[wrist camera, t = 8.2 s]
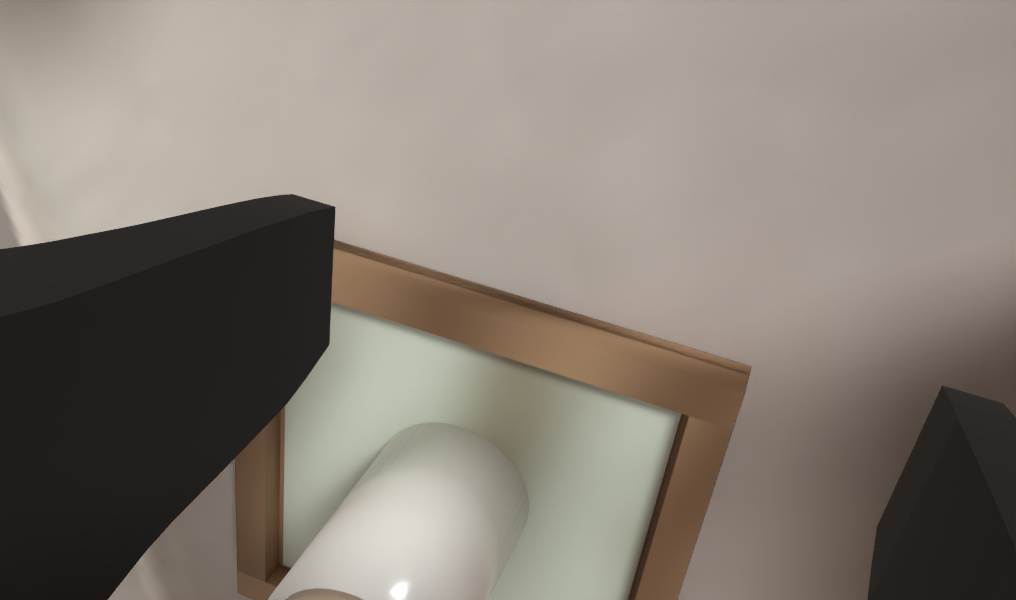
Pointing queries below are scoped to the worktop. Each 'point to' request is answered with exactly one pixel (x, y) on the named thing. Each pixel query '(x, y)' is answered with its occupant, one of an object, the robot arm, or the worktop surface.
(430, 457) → the salt cellar
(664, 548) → the rest tray
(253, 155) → the worktop surface
